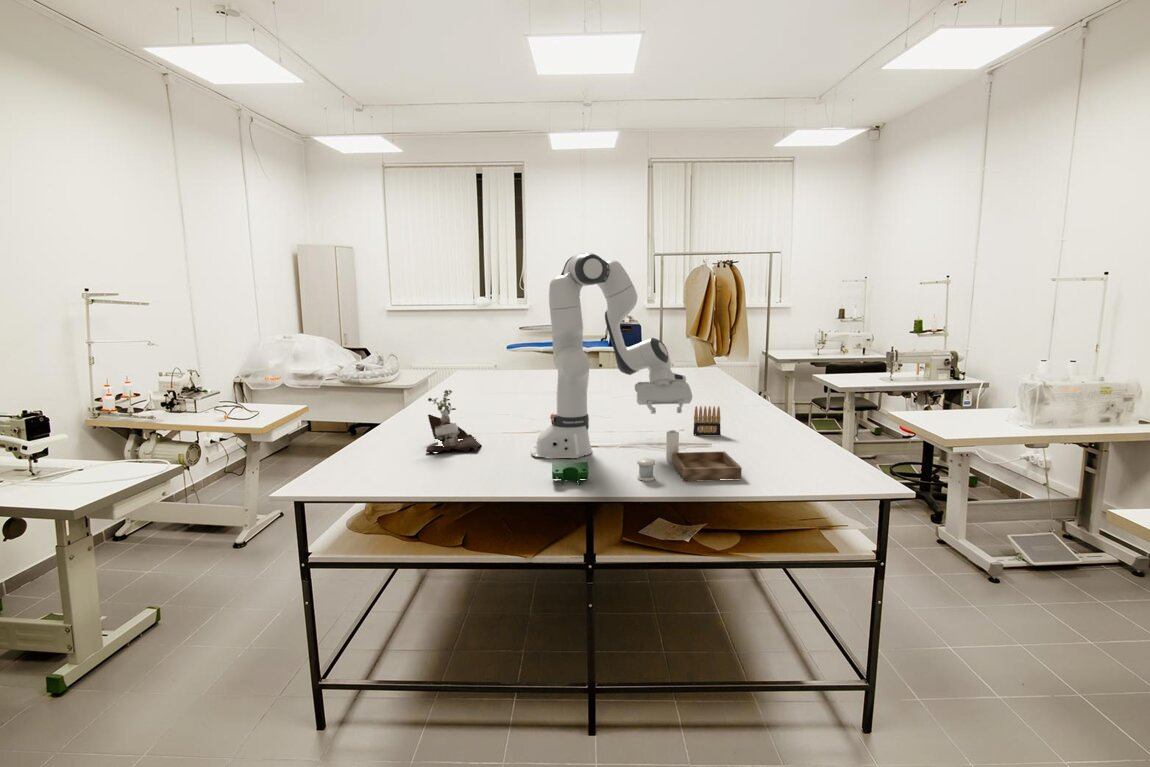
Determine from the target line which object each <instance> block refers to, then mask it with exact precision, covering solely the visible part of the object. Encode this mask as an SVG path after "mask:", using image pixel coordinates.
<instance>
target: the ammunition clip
mask: <svg viewBox="0 0 1150 767" xmlns="http://www.w3.org/2000/svg"><path fill="white" fill-rule="evenodd" d="M707 410H708V411H707ZM721 432H722V431H721V408H720V406H719V405H718V406H717V408H716V406H715V405H714V406H713V407H712V408H711V406H710V405H709V406H708V409H707V406H706V405H704V408H703V407H702V406H701V405H700V406H699V409H698V406H697V405H695V407H694V415H693V433H692V434H694V435H693V436H701V435H721ZM695 434H696V435H695Z"/></svg>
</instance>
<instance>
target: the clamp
mask: <svg viewBox="0 0 1150 767" xmlns="http://www.w3.org/2000/svg"><path fill="white" fill-rule="evenodd" d="M551 478H552V480H553V479H561V481H560V483H563V484H564V482H563V481H565V480H576V481H575V482H577V481H578V482H577V484H578V483H580V479H587V480H588V478H589V463H588V461H579V462H578V461H577V462H576V461H575V462H551ZM565 482H566V481H565Z"/></svg>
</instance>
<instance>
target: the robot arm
mask: <svg viewBox="0 0 1150 767" xmlns="http://www.w3.org/2000/svg"><path fill="white" fill-rule="evenodd" d="M593 285H597V286H598V287H599V288H600V290H601V291H602V293H603V296H604V298H605V300H606V306H607V307H606V308H607V309H606V311H605V313H604V320H605V325H606V328H607V332H608V335H609V339H610V341H611V345H612V349H613V352H614V355H615V356H614V357H615V361H616V365H617V368H618V370H619V372H621V373H623V374H625V375H629V376H631V375H633V374H635V373H638V372H639V371H641V370H644V369H647V370H648V372H649V373H648V379H649V381H638V382H637V383H635V384H634V390H635V392H636V403H637V405H640V406H644V405H645V406H647V409H649V411H650V414H652V415H654V414H655V415H656V413H657V412H656V407H653V405H678V406H677V407H676V413H677V414H682V412H683V410H682V408H683V405H684V404H685V405H688V404H690V403H691V402H692V400H693V392H692V389H691V387H690V385H689V383H688V382H687V377H686V376H685V375H683V374H680V373H676V372H673V371H672V369H671V367H672V363H671V359H670V356H669V351H668V349H667V347H666V345H665V344H664V343H663V341H661V340H659V339H658V338H655V337H651V338H648V339H645V340H643V341H640V342H639V343H635V344H633V345H631V346H626V344H625V340H624V337H623V333H622V331H621V323H622V321H623V320H624V319H625V318H626V317H628V315H629V314H630V313H632V311H633V310H634V308H635V306H636V305H637V303H638V293H637V291H636V288H635V286H634V284H633V282H632V280H631V277H630V276H629V274H628V273H627V270H626V269H625V268H624V267H623V265H622V264H621V263H620V262H619V261H618V260H614V259H613V260H607V261H606V260H604V259H603V258H602V257H600V256H598V255H597V254H595V253H578V254H576V255H573V256H572V257H571V256H570V258H568V260H567V261H566V262H565V263H564V266H563V270H562V272H561V274H560V275H559V276H556V277H554V278H553V279H552V280H550V283H549V287H548V288H549V290H548V303H549V304H548V305H549V314H550V315H549V316H550V322H551V323H550V324H551V332H552V334H551V335H552V338H551V339H552V353H553V354H552V356H553V363H554V364H553V365H554V366H555V368H556V369H557V386H556V388H557V389H556V414H555V413H551V414H550V415H549V416H550V417H549V418H550V420H551V425H549V426H548V427H547V428H546V429H545V430H543V431H542V432H540V434H539V435H538V436H537V441H536V444H535V445H534V446H532V448H531V449H530V455H531V454H532V455H533V456H535V457H553V458H577V457H579V456H581V457H585V456H588V455H590V454H592V452H593V450H592V445H591V442H590V435H589V427H590V418H589V417H590V416H589V413H588V386H589V376H590V358H589V355H588V354H587V353H586V351H584V349H583V348H584V347H583V344H584V343H583V340H584V339H583V333H584V332H583V331H584V325H583V324H584V323H583V313H582V304H581V298H580V296H581V289H582V288H583V286H584V287H586V286H593ZM584 455H585V456H584ZM553 458H552V459H553ZM579 458H580V457H579ZM577 459H578V458H577Z"/></svg>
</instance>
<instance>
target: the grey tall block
mask: <svg viewBox="0 0 1150 767" xmlns="http://www.w3.org/2000/svg"><path fill="white" fill-rule="evenodd" d="M665 436H666V443H665V444H666V447H665V450H666V451H665V461H666V462H667V463H671V462H672V453H680V452H679V451H680V440H679V439H680V433H679V432H678V431H676V430H674V429H673V430H672V429H671V430H669V431H666V435H665Z"/></svg>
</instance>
